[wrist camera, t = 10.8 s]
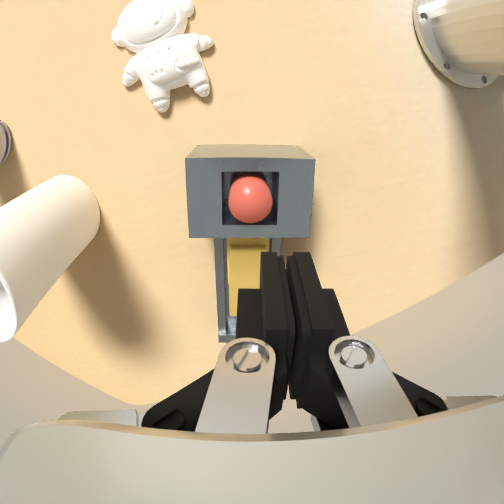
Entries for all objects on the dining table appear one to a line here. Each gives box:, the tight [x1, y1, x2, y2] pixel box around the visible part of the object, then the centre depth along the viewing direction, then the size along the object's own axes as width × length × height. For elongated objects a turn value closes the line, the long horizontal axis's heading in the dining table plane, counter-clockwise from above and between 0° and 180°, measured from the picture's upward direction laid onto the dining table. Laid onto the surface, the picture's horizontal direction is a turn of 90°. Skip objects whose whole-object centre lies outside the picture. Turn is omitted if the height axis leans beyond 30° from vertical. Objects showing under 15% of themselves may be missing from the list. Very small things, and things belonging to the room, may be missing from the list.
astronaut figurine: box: [111, 0, 213, 112], centre depth 22 cm, size 9×12×3 cm
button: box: [228, 171, 272, 223], centre depth 24 cm, size 3×3×5 cm
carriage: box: [227, 238, 269, 316], centre depth 27 cm, size 4×5×8 cm
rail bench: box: [185, 145, 315, 342], centre depth 29 cm, size 9×20×7 cm, turn 179°
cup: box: [0, 175, 100, 342], centre depth 22 cm, size 8×8×16 cm
